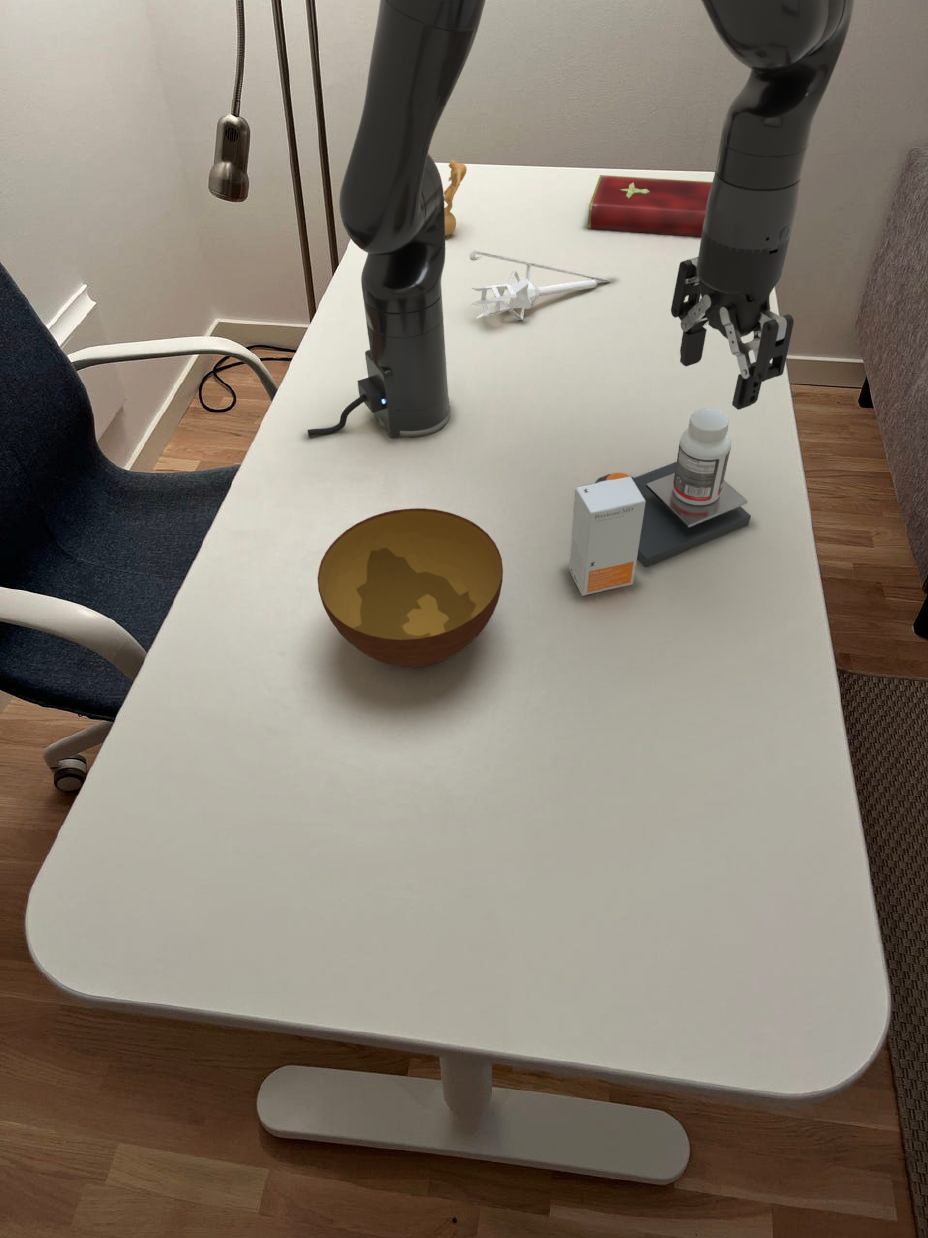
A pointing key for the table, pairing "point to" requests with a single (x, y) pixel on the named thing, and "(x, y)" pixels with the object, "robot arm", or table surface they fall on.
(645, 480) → the scale
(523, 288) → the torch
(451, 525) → the bowl
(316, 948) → the table surface
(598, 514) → the cosmetic box
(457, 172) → the figurine
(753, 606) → the table surface
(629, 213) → the hardcover book
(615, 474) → the tare button
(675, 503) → the weighing pan
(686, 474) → the pill bottle
